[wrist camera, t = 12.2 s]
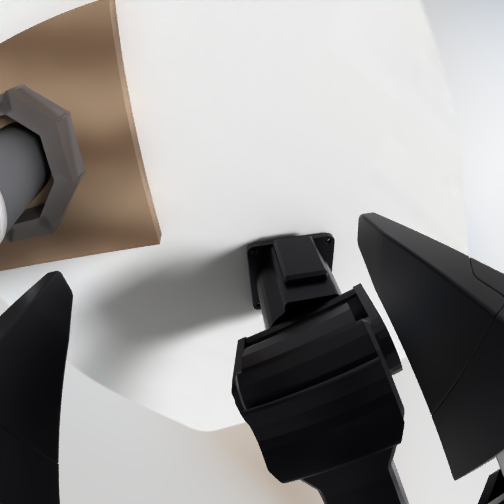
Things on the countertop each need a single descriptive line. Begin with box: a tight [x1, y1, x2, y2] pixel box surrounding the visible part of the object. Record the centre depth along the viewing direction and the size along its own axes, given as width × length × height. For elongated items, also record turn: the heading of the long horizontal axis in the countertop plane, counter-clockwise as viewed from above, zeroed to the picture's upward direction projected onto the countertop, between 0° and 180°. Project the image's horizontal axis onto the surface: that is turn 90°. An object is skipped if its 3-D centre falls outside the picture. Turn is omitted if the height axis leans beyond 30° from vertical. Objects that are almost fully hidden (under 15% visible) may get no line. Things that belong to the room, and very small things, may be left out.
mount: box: [0, 0, 161, 271], centre depth 15 cm, size 16×16×3 cm
